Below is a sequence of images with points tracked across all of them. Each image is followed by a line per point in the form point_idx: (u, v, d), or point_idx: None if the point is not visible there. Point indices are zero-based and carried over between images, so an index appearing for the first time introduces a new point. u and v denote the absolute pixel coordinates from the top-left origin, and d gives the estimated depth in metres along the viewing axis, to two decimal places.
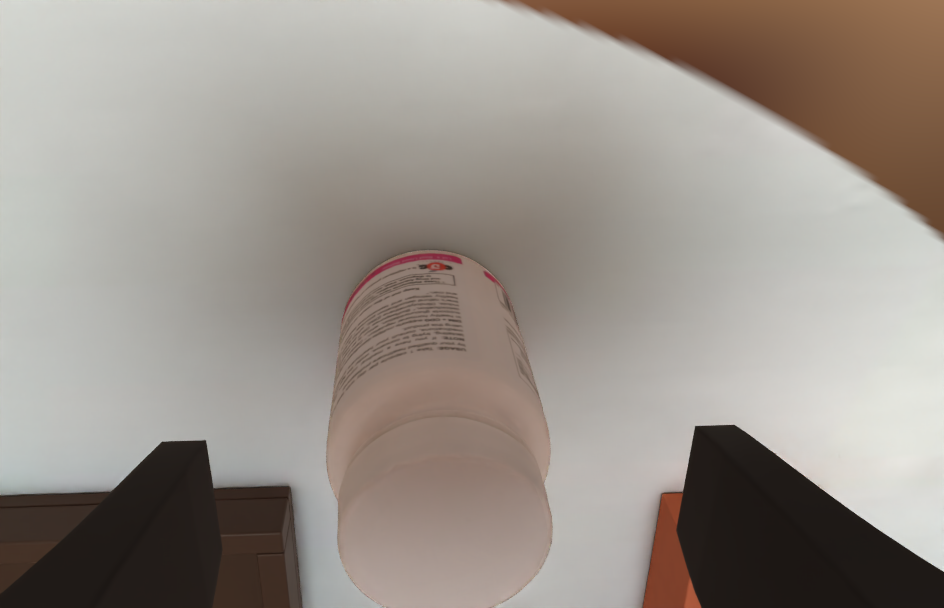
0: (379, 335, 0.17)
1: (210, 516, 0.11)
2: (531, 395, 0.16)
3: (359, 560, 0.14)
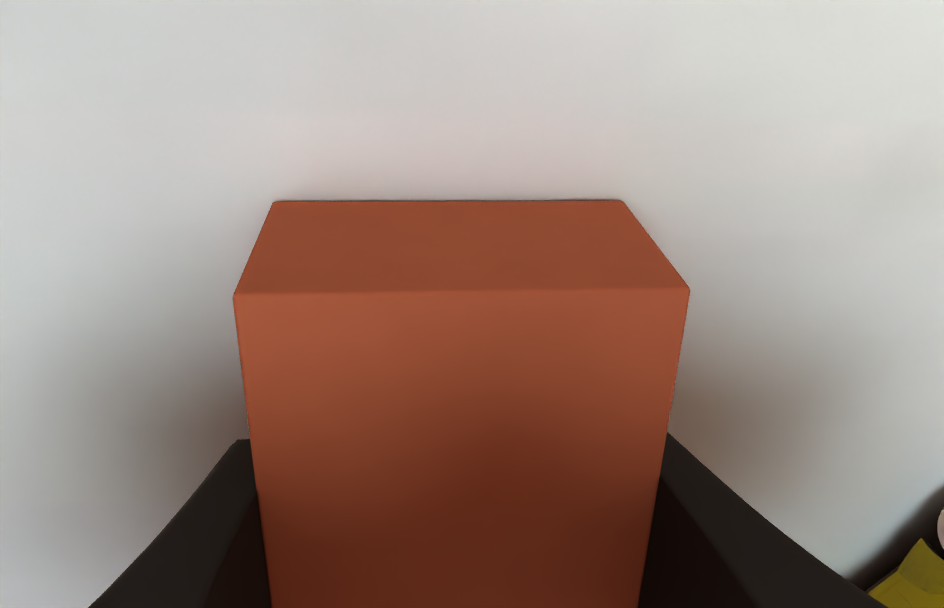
0: None
1: None
2: None
3: None
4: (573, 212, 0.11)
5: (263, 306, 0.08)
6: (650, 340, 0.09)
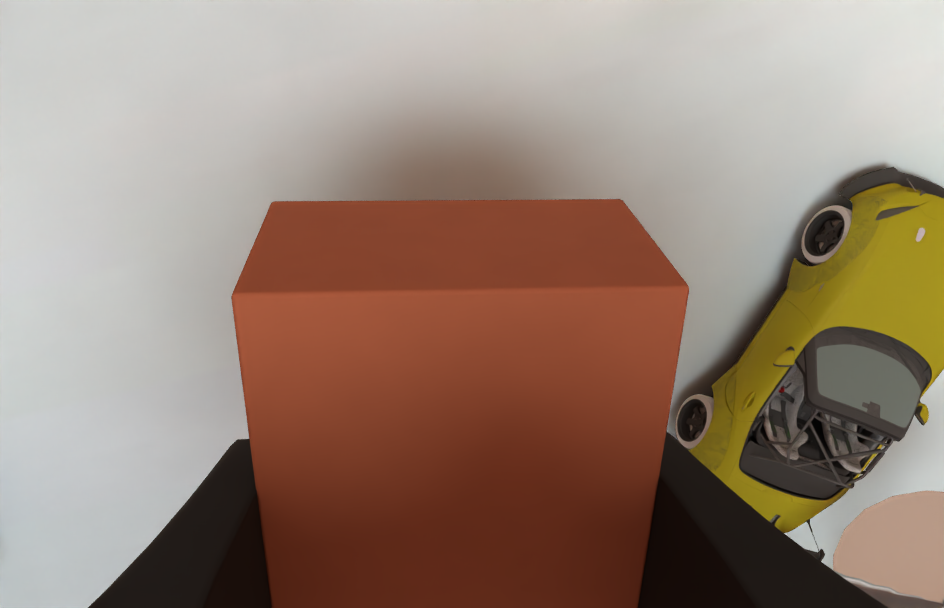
0: None
1: None
2: None
3: None
4: (574, 211, 0.11)
5: (262, 305, 0.08)
6: (649, 338, 0.09)
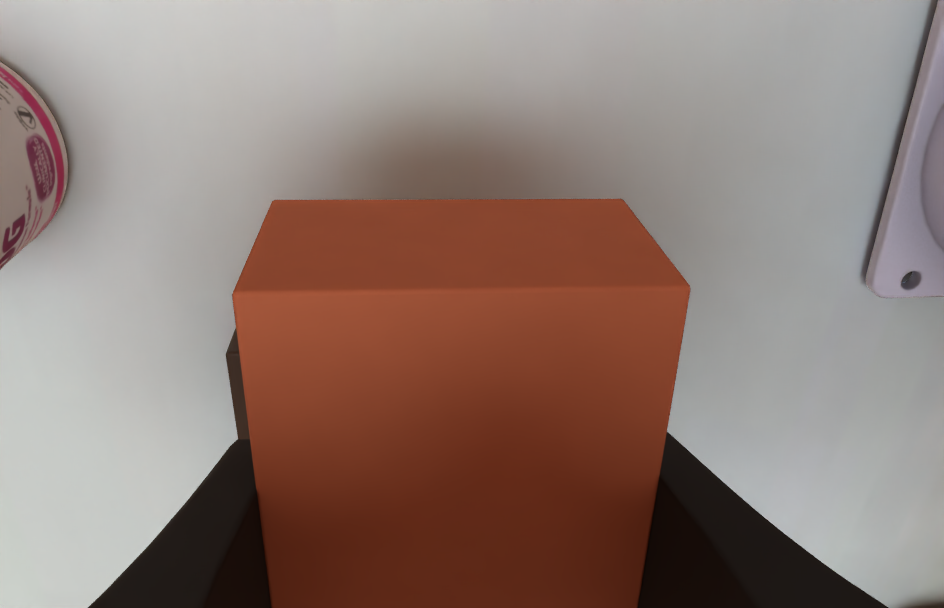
0: None
1: None
2: None
3: None
4: (574, 210, 0.11)
5: (263, 304, 0.08)
6: (650, 338, 0.09)
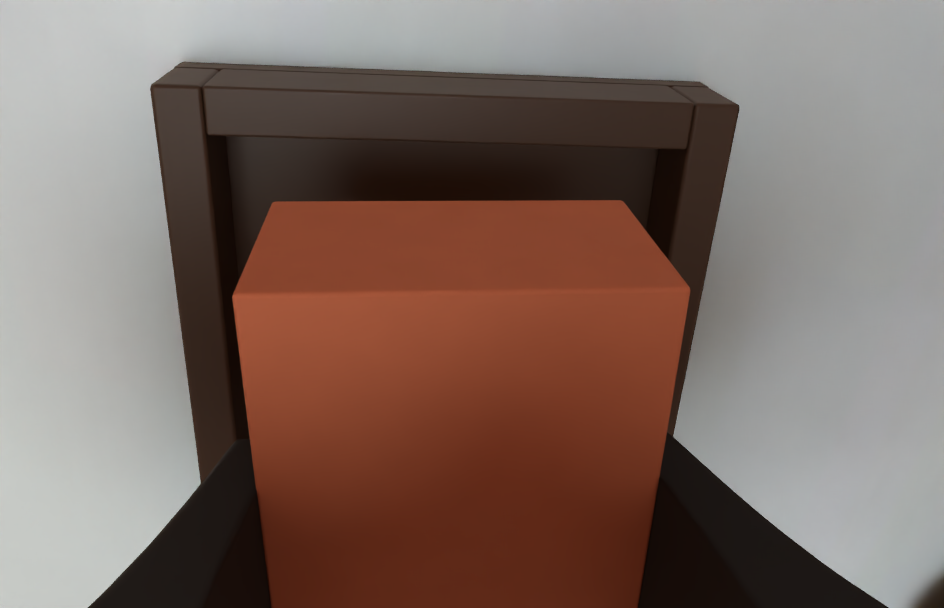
0: None
1: None
2: None
3: None
4: (574, 212, 0.11)
5: (262, 306, 0.08)
6: (650, 340, 0.09)
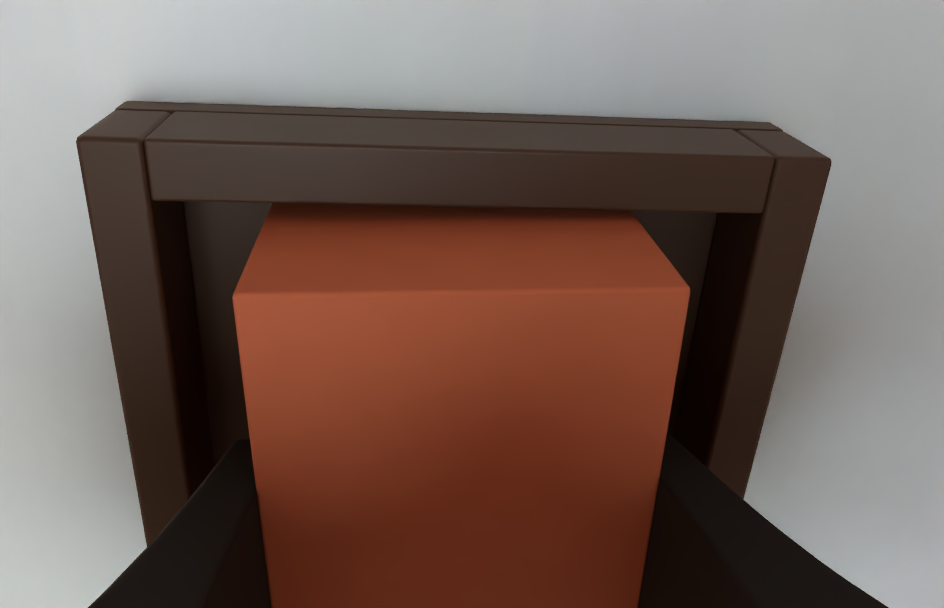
0: None
1: None
2: None
3: None
4: (573, 212, 0.11)
5: (263, 306, 0.08)
6: (650, 340, 0.09)
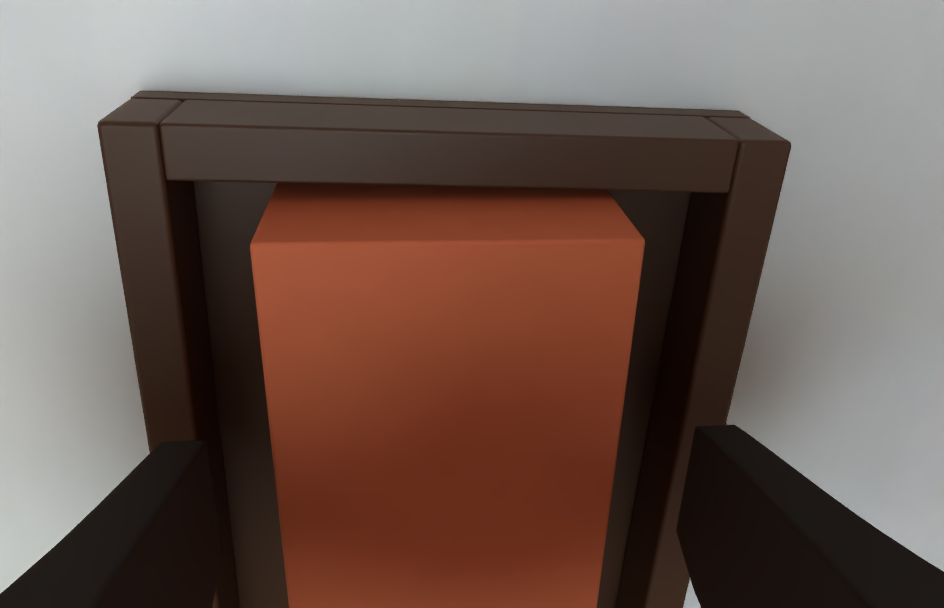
0: None
1: (210, 516, 0.11)
2: None
3: None
4: None
5: (276, 253, 0.10)
6: (611, 285, 0.10)
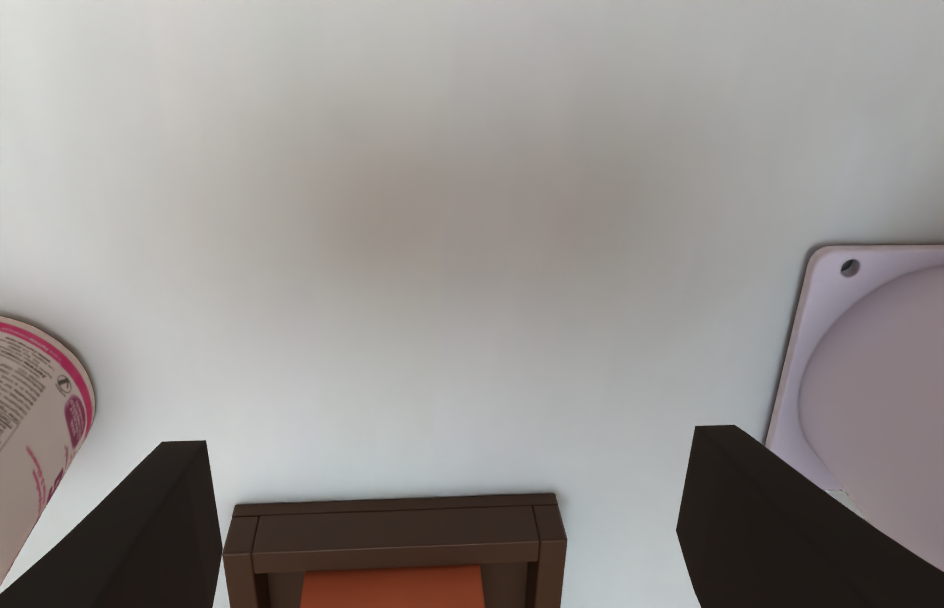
0: None
1: (210, 516, 0.11)
2: None
3: None
4: None
5: None
6: None
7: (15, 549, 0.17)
